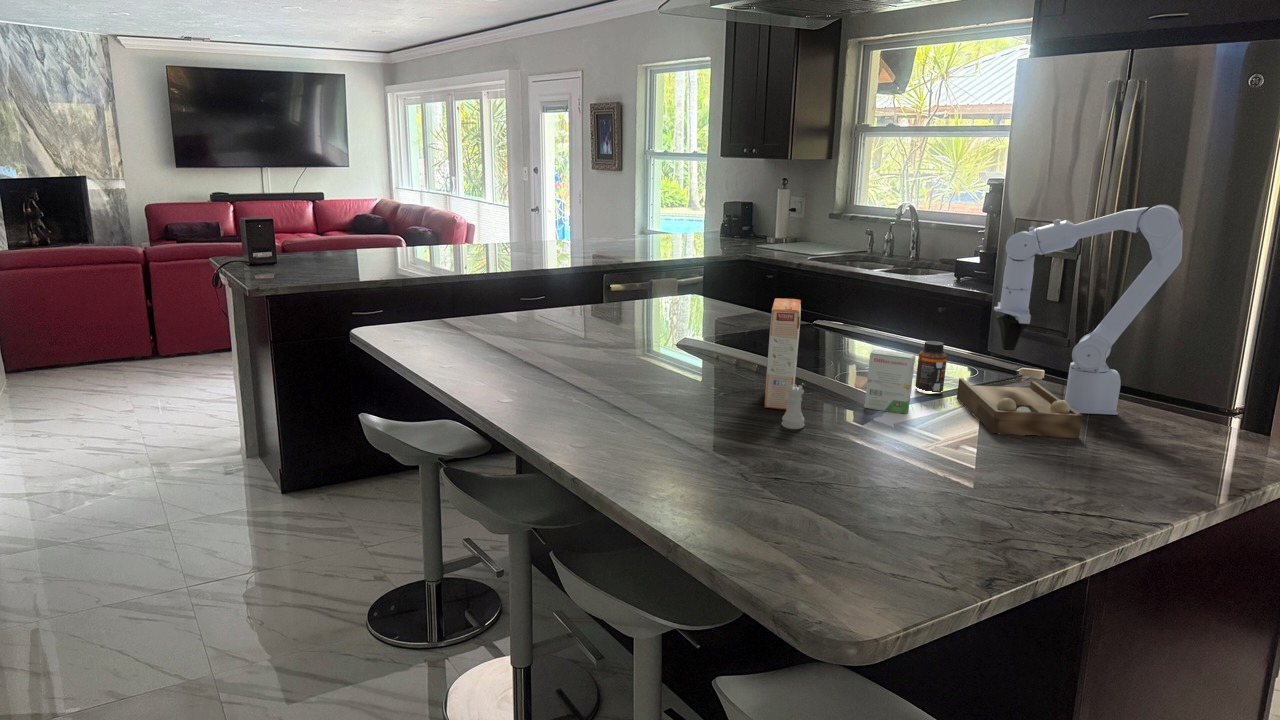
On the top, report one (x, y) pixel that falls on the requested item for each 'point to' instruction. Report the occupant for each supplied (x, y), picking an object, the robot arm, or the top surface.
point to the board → (1018, 422)
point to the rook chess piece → (794, 409)
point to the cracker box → (782, 351)
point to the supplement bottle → (931, 367)
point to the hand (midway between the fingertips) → (1008, 349)
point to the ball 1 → (1006, 405)
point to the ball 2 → (1060, 407)
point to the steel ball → (1023, 409)
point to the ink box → (889, 381)
